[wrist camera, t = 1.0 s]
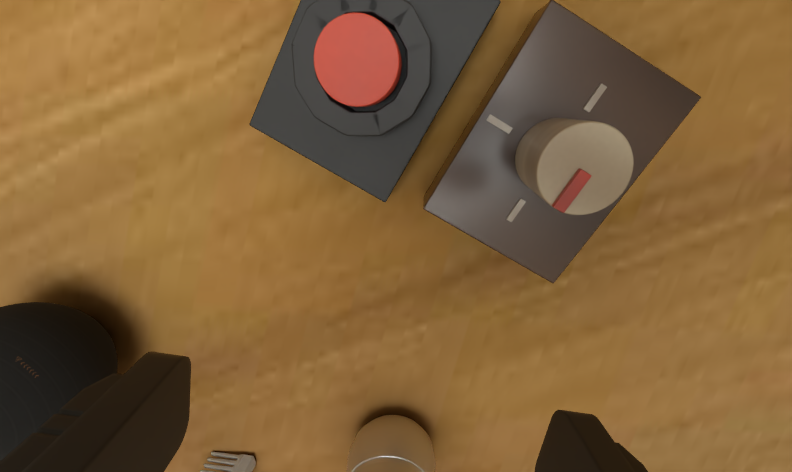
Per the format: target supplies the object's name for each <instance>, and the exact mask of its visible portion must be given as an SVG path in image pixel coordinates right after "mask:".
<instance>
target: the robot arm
mask: <svg viewBox="0 0 792 472" xmlns="http://www.w3.org/2000/svg"><path fill="white" fill-rule="evenodd" d="M190 378H191V362H190V359H189V357H186V356H179V355H172V354H164V353H157V352H148V353H146V354H145V355H144V356H143V357H142V358H141V359H139V360H138V361H137V362H136V363H135V364H134V365H133V366H132V367H131V368H130V369H129V370H128V371H127V372H126V373H125V374H124V375H123V374H116V373H113V374H111V375H109V376H107V377H105V378H103V379H101V380H99V381H97V382H95V383H93V384H91V385H90V386H88V387H86V388H84V389H82V390H81V391H80V392H79V393H78V394H77V395H75V396H74V397H73V398H72V399H71V400H70V401H69V402H67V403H66V404H65V405H64V406H63V407H62V408H61V409H59V412H58V414H54V415H53V416H51V417H50V418H49V419H48V420H47V421H46V422H45V423H43V424H42V425H41V426H40V427H39V428H38V431H37V432H36V433H32V434H31V435H30V436H28V437H27V438H26V439H25V440H24V441H23V442H22V443H20V444H19V445H18V446H17V447H16V448H15V449H14V450H12V451H11V452H10V453H9V454H8V455H7V456H6V457H4V458H3V459H2V460H1V461H0V472H164V471H165V469H166V467H167V466H168V464H169V463H170V461H171V460H172V458H173V457H174V455H175V453H176V452H177V450H178V449H179V447H180V445H181V443H182V441H183V438H184V436H185V433H186V429H187V426H188V421H189V407H190ZM535 472H648V471H647V470H646V468H645V467H644V466H643V464H642V463H640V462H639V461H638V460H637V459H636V458H635V457H634V456H633V455H632V454H630V453H629V452H628V451H627V450H626V449H625V448H624V447H623V446H621V445H620V444H619V443H615V442H614V441H613V439H612V438H611V437H610V435H609V434H608V432H607V431H606V429H605V428H604V427H603V425H602V424H601V422H600V421H599V420H598V418H597V417H596V416H594V415H592V414H585V413H578V412H571V411H564V410H557V411H556V412H555V413H554V414H553V416H552V418H551V421H550V424H549V427H548V430H547V433H546V436H545V439H544V441H543V444H542V447H541V450H540V453H539V456H538V459H537V462H536V466H535Z"/></svg>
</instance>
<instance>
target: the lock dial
mask: <svg viewBox="0 0 792 472" xmlns="http://www.w3.org/2000/svg"><path fill="white" fill-rule="evenodd" d="M515 165H516V170H517V173H518V175H519V177H520V179H521V180H522V182H523V183H524V184H525V185H526V186H527V187H528V188H530V189H531V190H532V191H533V192H534V193H536V194H537V195H538V196H539V197H540V198H542V199H543V200H544V201H545V202H546V203H548V204H549V205H550V206H551V207H553V208H554V209H556V210H558V211H560V212H562V213H566V214H570V215H586V214H591V213H594V212H597V211H600V210H602V209H604V208H606V207H607V206H609V205H610V204H612V203H613V202H614V201H615V200H617V199H618V198H619V196H620V195H621V194H622V193H623V192H624V190H625V189H626V187H627V185H628V183H629V181H630V179H631V176H632V172H633V165H634V161H633V153H632V149H631V146H630V144H629V142H628V140H627V139H626V138H625V136H624V135H623V134H622V133H621V132H620V131H619V130H617V129H616V128H614V127H612V126H611V125H608V124H605V123H602V122H596V121H586V120H576V119H567V118H552V119H547V120H544V121H542V122H540V123H538V124H536V125H535V126H533V127H532V128H531V129H529V130H528V131H527V132H526V133H525V135H524V136H523V137H522V139H521V141H520V142H519V145H518V147H517V150H516V155H515Z"/></svg>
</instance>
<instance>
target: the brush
mask: <svg viewBox="0 0 792 472" xmlns="http://www.w3.org/2000/svg"><path fill="white" fill-rule="evenodd" d="M211 455H212V456H218V457H224V458H230V459H237V460H236V461H234V460H225V459H217V458H208V459H207V460H208V461H209V462H215V463H221V464H227V465H233V467H229V466H221V465H213V464H204V467H205V468H210V469H216V470H222V471H228V472H252V471H253V469H254V467H255V465H256V461H255V459H254V456H250V455H245V454H240V455H236V454H228V453H220V452H211ZM200 472H215V471H207V470H200Z"/></svg>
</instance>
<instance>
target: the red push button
mask: <svg viewBox="0 0 792 472" xmlns="http://www.w3.org/2000/svg"><path fill="white" fill-rule="evenodd" d="M314 68H315V72H316V75H317V78H318V80H319V82H320V84H321V86H322V87H323V89H324V90H325V91H326V92H327V94H328V95H330V96H331V97H332V98H333V99H335V100H336V101H338V102H340V103H342V104H344V105H347V106H352V107H366V106H372V105H375V104H378V103H380V102H381V101H383V100H384V99H386V98H387V97H388V96H389V95H390V94H391V93H392V92H393V90H394V89H395V87H396V86H397V83H398V81H399V78H400V75H401V68H402V60H401V53H400V50H399V47H398V45H397V42H396V40H395V39H394V37H393V35H392V33H391V32H390V30H389V29H388V28H387V27H386V26H385V25H384V24H383V23H382V22H381V21H380V20H378V19H377V18H375V17H373V16H371V15H368V14H365V13H357V12H353V13H347V14H343V15H340V16H338V17H336V18H335V19H333V20H332V21H330V22H329V23H328V24H327V25H326V26H325V27H324V29H323V30H322V32H321V33H320V35H319V37H318V39H317V42H316V45H315V49H314Z"/></svg>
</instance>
